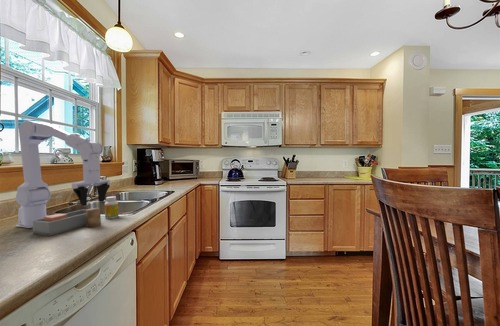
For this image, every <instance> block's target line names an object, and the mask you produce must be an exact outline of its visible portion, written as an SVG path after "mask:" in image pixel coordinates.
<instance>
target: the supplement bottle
mask: <svg viewBox="0 0 500 326" xmlns="http://www.w3.org/2000/svg"><path fill="white" fill-rule="evenodd" d="M105 199H106V200H105V201H104V218H105V219H106V220H108V219H109V220H110V219H116V218H118V217H119V202H118V200H117V197H116V195H115V196H107V197H106V196H105Z"/></svg>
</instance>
